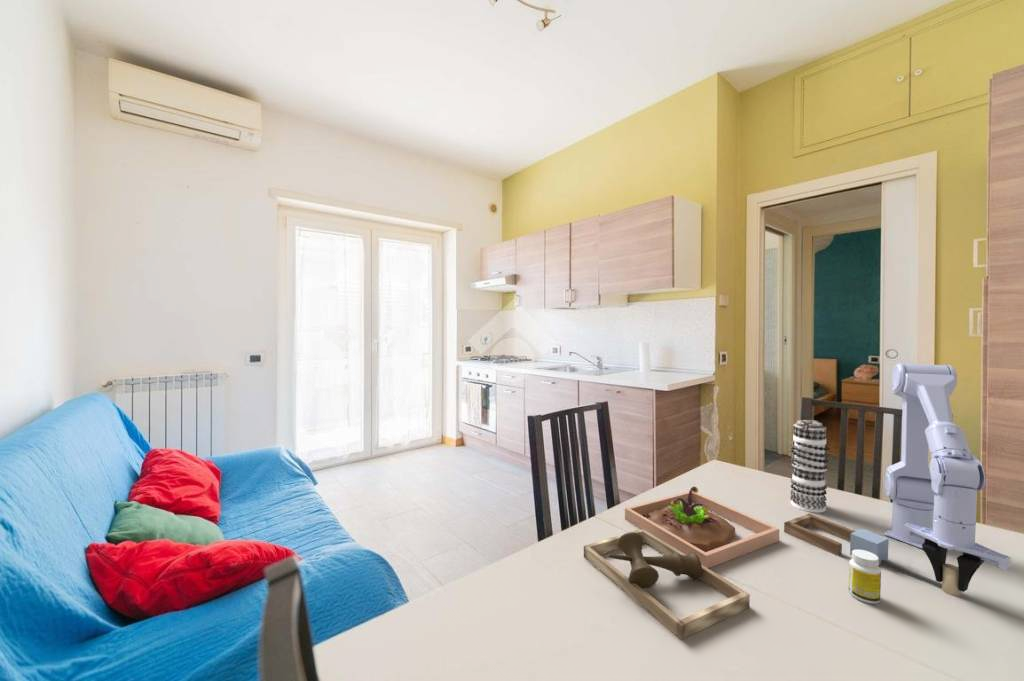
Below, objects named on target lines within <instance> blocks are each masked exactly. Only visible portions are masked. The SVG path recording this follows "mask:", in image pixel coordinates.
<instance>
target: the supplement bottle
mask: <svg viewBox="0 0 1024 681" xmlns="http://www.w3.org/2000/svg"><path fill="white" fill-rule="evenodd" d="M848 562H849V565H848V592H849V594H850V595H851V596H852V597H854V598H855V599H856V600H858V601H861V602H863V603H866V604H872V605H873V604H879V603H880V602H881V586H882V583H881V582H882V580H881V579H882V570H881V568H880V567H879V558H878V557H877V556H876V555H875V554H873V553H871V552H868V551H865V550H859V549H855V550H853V551H852V555H851V559H850V560H849V561H848Z"/></svg>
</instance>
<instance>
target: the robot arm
mask: <svg viewBox="0 0 1024 681" xmlns="http://www.w3.org/2000/svg"><path fill="white" fill-rule="evenodd" d="M891 380H892V382H891V384H892V386H891V389H892V393H893V395H895V396H898V397H901V403H902V413H901V414H902V415H901V416H902V417H901V418H902V419H901V420H902V421H901V422H902V423H901V461H899V462H896V463H894V464H891V465H889V466H887V467H886V470H885V476H884V480H883V482H884V484H883V486H884V492H885V494H886V496H887V497H888V498H889V499H890V500H892V509H891V510H892V514H891V516H892V517H891V529H888V530H887V531H885V532H883V534H884V536H886V537H889V538H892V539H895V540H897V541H899V542H904V543H906V544H908V545H911V546H913V547H916V548H920V549H922V550H923V552H924V553H925V555H926V556H927V558H928V560H929V563H930V565H931V567H932V570H933V574H934V577H935V581H937V582H939V583H942V570H943V564H945V563H946V562H947V554H948V550H949V551H956V552H957V553H958V552H959V553H960V554H961V555H959V556H957V558H956V559H957V567H959V580H958V590H960V591H961V593H962V592H963V593H964V592H966V591H968V589H969V585H970V582H971V581H972V578H973V576H974V575H975V573H976V572H977V570H978V569H979V568H980V566H981V565H982V564H984V563H985V562H987V563H988V564H989V563H990V564H992V565H996V566H997V567H998V568H1000V569H1003V570H1005V571H1007V570H1008V569H1010V568H1011V561H1012V560H1011V559H1012V558H1011V556H1010V555H1005V554H1003V553H1001V552H998V551H996V550H993V549H991V548H988V547H987V546H984V545H982V544H980V543H977V542H976V531H977V530H976V526H977V523H976V522H977V506H978V505H977V503H978V491H982V490H983V489H984V487H985V484H986V474H985V469H984V466H983V464H982V462H981V461H980V460H979V459H978V458H977V455H976V454H972V452H971V449H970V447H969V443H968V440H967V437H966V434H965V431H964V430H963V428H962V427H961V426H959V425H957V424H955V423H954V418H953V413H952V406H951V401H950V396H952V395H953V392H954V390H955V389H956V387H957V384H958V374H957V371H956V369H955V368H954V367H953V366H952V365H951V364H944V365H943V364H921V363H920V364H917V363H915V364H914V363H901V362H900V363H899V362H898V363H897V364H896V365H894V367H893V369H892V377H891ZM929 452H930V456H931V460H930V462H929ZM946 564H947V563H946Z"/></svg>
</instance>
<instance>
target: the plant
mask: <svg viewBox="0 0 1024 681" xmlns="http://www.w3.org/2000/svg"><path fill="white" fill-rule="evenodd" d="M692 491H693V492H694V493H698V492H699V488H698V487H697V486H692V487H691V488H690V489H689V491H688V492H689V494H688V498H687V503H686V502H685V500H684V499H682V498H677V499H675V500H674V501H672V502H671V505H670V506H667V507H665V508H663V509H661V510H654V512H652V513H649V514H648V518H647V519H649V520H650V521H652V522H654V523H656V524H657V525H659V526H661V527H663V528H664V529H666V530H668V531H669V532H671V533H673V534H675V535H676V536H678V537H680V538H682V539H683V540H685V541H687V542H688V543H690V544H692V545H694V546H695V547H697V548H699V549H701V550H702V551H704V552H708V551H711V550H713V549H716V548H719V547H722V546H724V545H727V544H730V543H732V539H733V540H734V539H735V537H736V528H735V527H734V526H733V525H732V524H730V522H728V521H727V520H726V518H724V517H722V516H720V515H718V514H716V513H714V512H712V511H709V510H708V507H707V506H706V505H705V504H703V503H700V502H699V503H693V502H692V498H691V497H692V496H691V495H692ZM677 500H680V505H678V504H677V503H676V502H677ZM699 505H701V506H699ZM697 506H698V507H697ZM696 507H697V508H696Z"/></svg>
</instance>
